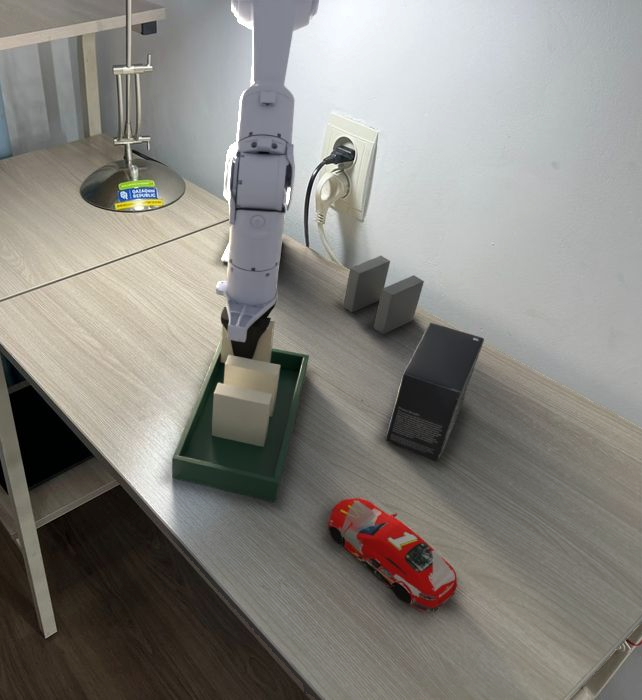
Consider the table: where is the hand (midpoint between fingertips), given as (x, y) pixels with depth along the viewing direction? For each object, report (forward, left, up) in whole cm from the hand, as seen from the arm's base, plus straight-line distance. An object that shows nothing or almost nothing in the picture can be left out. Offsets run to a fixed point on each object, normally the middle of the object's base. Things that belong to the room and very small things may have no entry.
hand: (245, 352), depth 85 cm
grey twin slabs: (-18, +15, -3) cm, 24 cm away
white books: (+8, +2, -3) cm, 9 cm away
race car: (+22, +19, -3) cm, 30 cm away
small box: (+2, +22, -3) cm, 22 cm away
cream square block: (0, 0, -2) cm, 2 cm away
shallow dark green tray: (+8, +2, -3) cm, 9 cm away
